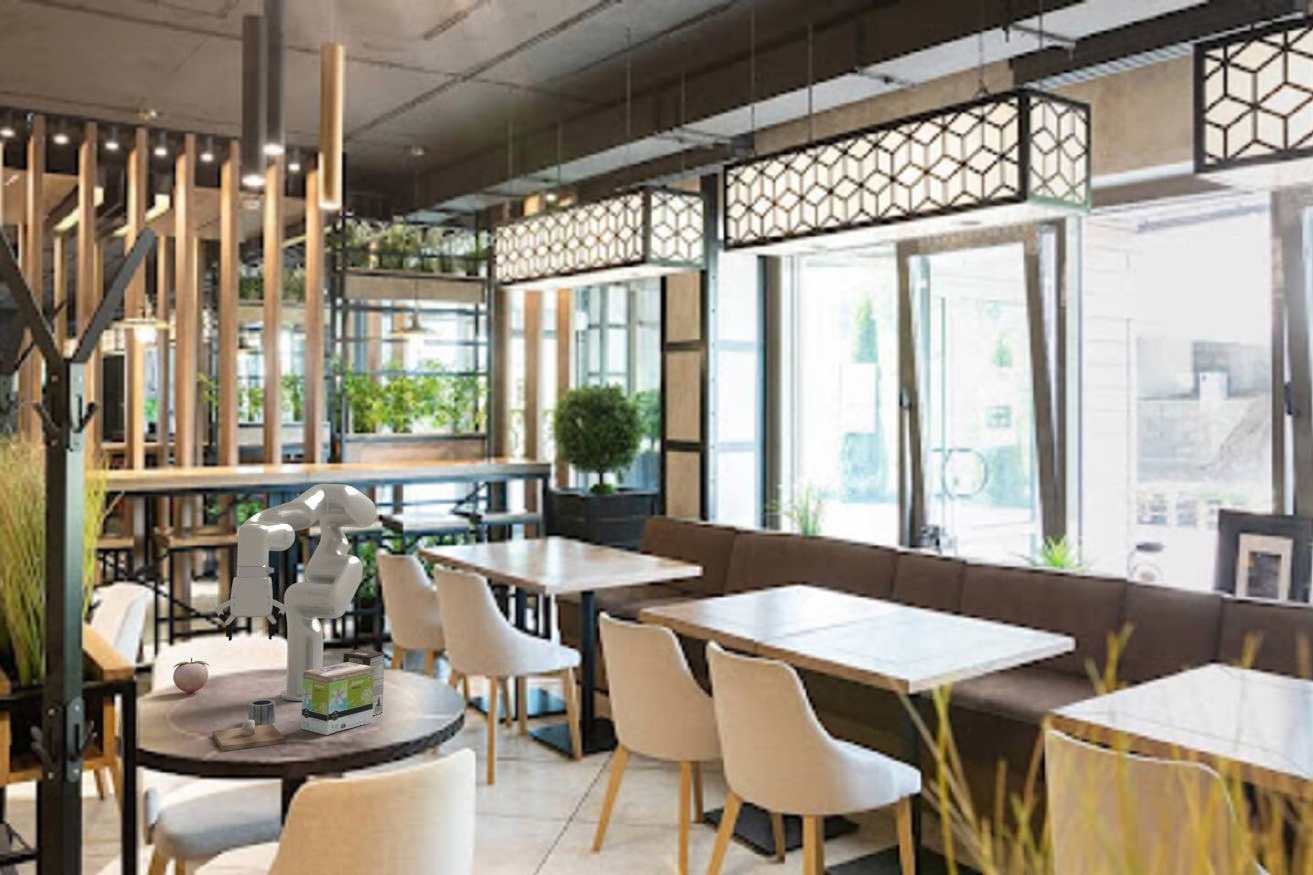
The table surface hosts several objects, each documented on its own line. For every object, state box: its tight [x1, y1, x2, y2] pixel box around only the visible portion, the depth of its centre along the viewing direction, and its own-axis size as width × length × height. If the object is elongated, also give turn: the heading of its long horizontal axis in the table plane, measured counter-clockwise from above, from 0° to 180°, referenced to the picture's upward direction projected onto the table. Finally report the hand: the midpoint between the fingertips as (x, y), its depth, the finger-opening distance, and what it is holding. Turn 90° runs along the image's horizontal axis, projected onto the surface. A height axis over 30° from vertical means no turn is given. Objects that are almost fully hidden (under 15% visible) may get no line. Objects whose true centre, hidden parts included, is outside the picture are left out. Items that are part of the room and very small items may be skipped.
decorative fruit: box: [172, 657, 210, 695], centre depth 309 cm, size 9×8×10 cm
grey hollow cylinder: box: [247, 698, 277, 726], centre depth 283 cm, size 6×6×5 cm
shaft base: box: [211, 719, 286, 752], centre depth 268 cm, size 14×14×4 cm
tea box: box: [300, 662, 374, 736], centre depth 281 cm, size 15×10×15 cm
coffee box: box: [342, 648, 385, 716], centre depth 293 cm, size 9×6×16 cm
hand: (250, 639), depth 284 cm, fingers open, 9 cm apart
